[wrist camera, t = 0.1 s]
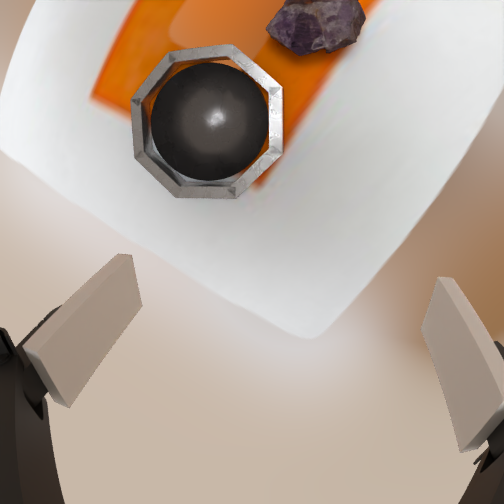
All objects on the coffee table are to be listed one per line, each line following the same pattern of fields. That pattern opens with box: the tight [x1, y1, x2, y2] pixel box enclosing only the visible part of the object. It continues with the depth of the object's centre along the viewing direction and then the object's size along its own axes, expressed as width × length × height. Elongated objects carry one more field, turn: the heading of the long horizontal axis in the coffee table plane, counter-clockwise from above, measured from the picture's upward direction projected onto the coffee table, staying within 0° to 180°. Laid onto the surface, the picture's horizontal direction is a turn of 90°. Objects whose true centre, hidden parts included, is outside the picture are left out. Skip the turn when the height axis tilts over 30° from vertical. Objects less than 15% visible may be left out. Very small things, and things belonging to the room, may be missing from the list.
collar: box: [131, 44, 284, 199], centre depth 35 cm, size 19×19×2 cm
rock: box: [266, 0, 366, 56], centre depth 25 cm, size 12×9×10 cm
